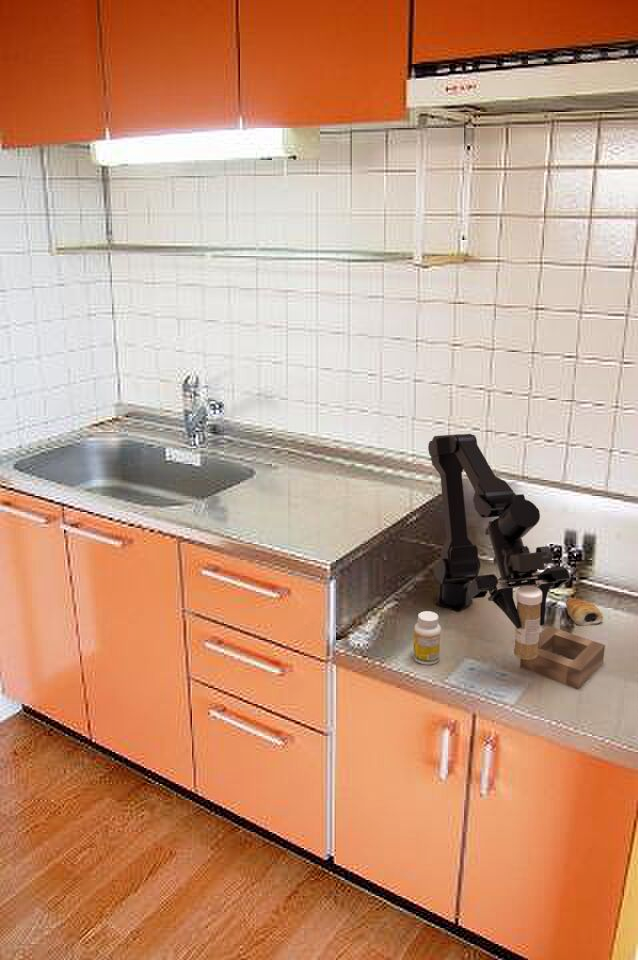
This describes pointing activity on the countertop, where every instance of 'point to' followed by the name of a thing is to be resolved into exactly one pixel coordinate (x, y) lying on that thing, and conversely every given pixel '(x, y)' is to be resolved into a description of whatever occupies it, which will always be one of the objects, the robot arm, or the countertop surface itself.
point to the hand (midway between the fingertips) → (531, 626)
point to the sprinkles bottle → (528, 622)
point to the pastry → (583, 612)
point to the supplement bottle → (427, 638)
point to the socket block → (561, 668)
